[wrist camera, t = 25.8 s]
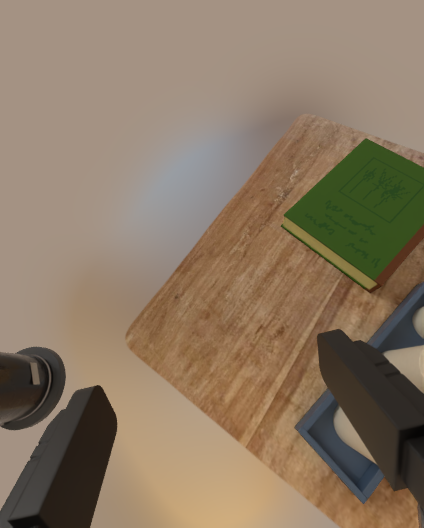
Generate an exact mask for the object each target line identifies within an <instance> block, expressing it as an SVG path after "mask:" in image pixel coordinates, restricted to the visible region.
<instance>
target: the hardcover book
mask: <svg viewBox="0 0 424 528" xmlns="http://www.w3.org/2000/svg"><path fill="white" fill-rule="evenodd" d="M284 216H285V219H284V223H283V224H282V225H281V227H282V228H284V229H285V230H286V231H288V232H289V233H290V234H292V235H293V236H294V237H296V238H297V239H298V240H300V241H301V242H302V243H304V244H305V245H306V246H308V247H309V248H310V249H312V250H313V251H314V252H316V253H317V254H318V255H320V256H321V257H322V258H324V259H325V260H326V261H328V262H329V263H330V264H332V265H333V266H334V267H336V268H337V269H338V270H340V271H341V272H342V273H344V274H345V275H346V276H348V277H349V278H350V279H352V280H353V281H354V282H356V283H357V284H358V285H360V286H361V287H362V288H364V289H365V290H367V291H368V292H369V293H371V292H373V291H374V290H376V289H378V288H379V287H381V286H382V285H383V284H384V283H385V282H386V281H387V279H388V278H389V277H390V276H391V275H392V274H393V272H394V271H395V270H396V269H397V268H398V267H399V265H400V264H401V263H402V262H403V261H404V260H405V259H406V257H407V256H408V255H409V254H410V253H411V252H412V250H413V249H414V248H415V247H416V246H417V245H418V243H419V242H420V241H421V240H422V239H423V238H424V168H423V167H421V166H419V165H417V164H415V163H413V162H412V161H410V160H408V159H406V158H404V157H402V156H400V155H398V154H396V153H394V152H392V151H390V150H388V149H386V148H384V147H382V146H380V145H378V144H376V143H374V142H372V141H370V140H368V139H365V140H363V141H362V142H361V143H360V144H359V145H358V146H357V147H356V148H355V149H354V150H353V151H352V152H351V153H350V154H348V155H347V156H346V157H345V158H344V159H343V160H342V161H341V162H340V163H339V164H338V165H337V166H336V167H335V168H333V169H332V170H331V171H330V172H329V173H328V174H327V175H326V176H325V177H324V178H323V179H322V180H321V181H319V182H318V183H317V184H316V185H315V186H314V187H313V188H312V189H311V190H310V191H309V192H308V193H307V194H306V195H304V196H303V197H302V198H301V199H300V200H299V201H298V202H297V203H296V204H295V205H294V206H293V207H292V208H290V209H289V210H288V211H287V212H286V213H285V214H284Z"/></svg>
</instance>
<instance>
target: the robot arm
mask: <svg viewBox="0 0 424 528" xmlns="http://www.w3.org/2000/svg"><path fill="white" fill-rule="evenodd" d="M317 342H318V354H319V366H320V371H321V374H322V377H323V379H324V381H325V383H326V385H327V387H328V388H329V390H330V391H331V393H332V395H333V396H334V398H335V399H336V401H337V402H338V404H339V406H340V407H341V409H342V410H343V412H344V413H345V415H346V417H347V418H348V420H349V421H350V423H351V424H352V426H353V428H354V429H355V431H356V432H357V434H358V435H359V437H360V439H361V440H362V442H363V443H364V445H365V446H366V448H367V449H368V451H369V453H370V454H371V456H372V457H373V459H374V460H375V462H376V464H377V465H378V467H379V468H380V470H381V471H382V473H383V475H384V476H385V478H386V479H387V481H388V482H389V484H390V486H391V487H392V489H393V490H394V491H397V490H401V489H406V488H408V489H409V490H410V492H411V493H412V495H413V496H414V497H415V499H416V500H417V502H418V520H419V528H424V394H423V393H422V392H421V391H420V390H419V389H418V388H417V387H416V386H415V385H414V384H413V383H412V382H411V381H410V380H409V379H408V378H407V377H406V376H405V375H404V374H401V373H400V371H399V370H398V369H397V368H396V367H395V366H394V365H393V364H392V363H390V362H389V360H388V359H387V358H386V357H385V356H384V355H383V354H382V353H380V352H379V351H378V350H377V349H376V348H374V347H372V346H370V345H369V344H367V343H365V342H363V341H361V340H358V341H354V342H353V341H352V340H351V339H350V338H349V337H348V336H347V335H346V334H345V333H344V332H343V331H342V330H340V329H337V330H332V331H328V332H324V333H320V334H318V336H317ZM52 383H53V372H52V368H51V366H50V364H49V362H48V361H47V360H46V359H45V358H43V357H41V356H38V355H23V354H13V353H2V352H0V426H2V425H7V424H9V423H10V422H11V421H18V420H22V419H25V418H28V417H30V416H31V415H33V414H34V413H35V412H37V411H38V410H39V409H40V408H41V407H42V405H43V404H44V403H45V401H46V400H47V398H48V396H49V394H50V391H51V388H52ZM116 432H117V418H116V414H115V412H114V410H113V408H112V406H111V404H110V402H109V400H108V398H107V396H106V394H105V393H104V390H103V389H102V387H101V386H99V385H97V386H93V387H89V388H84V389H80V390H77V391H76V392H75V393H74V394H73V396H72V397H71V399H70V401H69V403H68V405H67V407H66V409H64V410H61V411H60V412H59V414H58V415H57V416H56V417H55V418H54V419H53V421H51V423H50V424H49V425H48V426H47V428H46V430H45V432H44V434H43V435H42V437H41V439H40V441H39V445H38V446H36V448H35V450H34V451H33V453H32V455H31V457H30V458H31V459H30V461H28V462H27V464H26V466H25V468H24V470H23V471H22V473H21V475H20V477H19V478H18V480H17V482H16V484H15V486H14V488H13V489H12V491H11V493H10V495H9V497H8V498H7V500H6V502H5V504H4V505H3V507H2V509H1V511H0V528H90V526H91V522H92V518H93V515H94V511H95V508H96V504H97V501H98V497H99V493H100V490H101V486H102V483H103V479H104V476H105V472H106V468H107V465H108V461H109V458H110V454H111V450H112V447H113V443H114V440H115V436H116Z"/></svg>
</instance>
